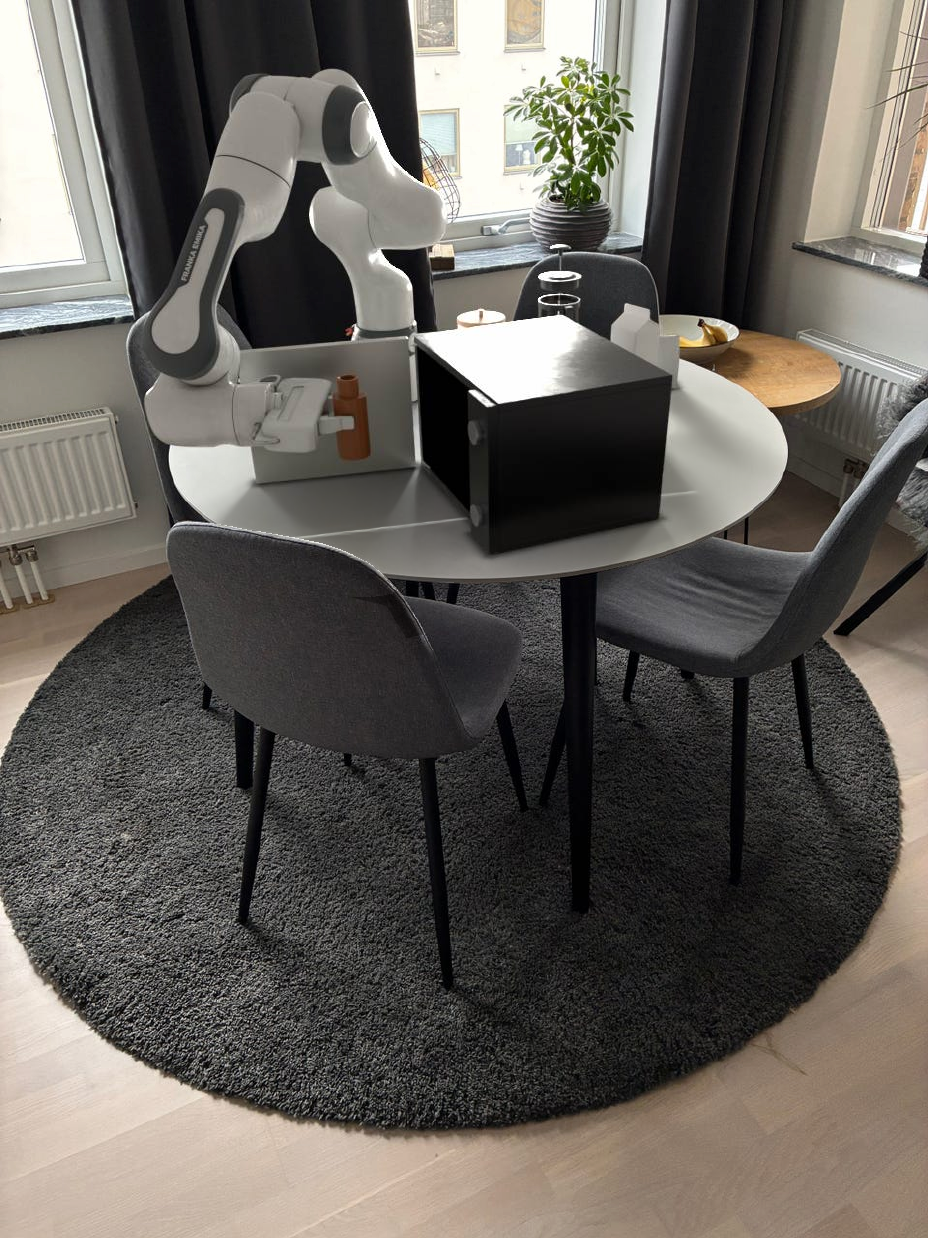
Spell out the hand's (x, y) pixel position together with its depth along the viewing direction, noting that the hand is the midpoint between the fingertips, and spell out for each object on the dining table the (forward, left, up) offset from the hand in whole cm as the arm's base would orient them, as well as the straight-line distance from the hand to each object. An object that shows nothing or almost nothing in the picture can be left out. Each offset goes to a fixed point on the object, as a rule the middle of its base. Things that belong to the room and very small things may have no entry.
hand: (357, 413), depth 134 cm
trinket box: (-20, +82, -17) cm, 86 cm away
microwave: (+18, +18, -17) cm, 31 cm away
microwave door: (-15, +14, -17) cm, 27 cm away
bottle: (-1, 0, -6) cm, 6 cm away
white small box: (+23, +75, -17) cm, 80 cm away
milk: (+25, +50, -17) cm, 58 cm away
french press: (-3, +86, -17) cm, 87 cm away
